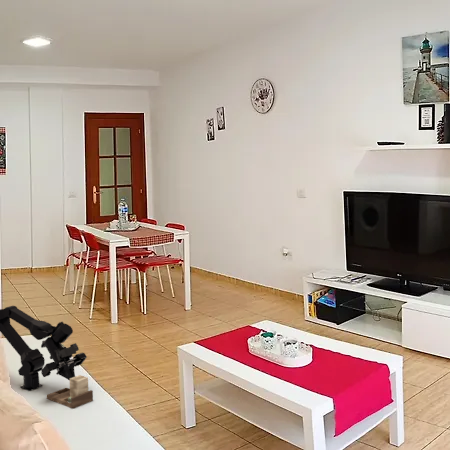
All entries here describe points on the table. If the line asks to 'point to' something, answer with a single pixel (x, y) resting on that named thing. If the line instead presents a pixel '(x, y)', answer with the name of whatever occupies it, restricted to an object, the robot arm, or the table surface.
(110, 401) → the table surface
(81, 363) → the robot arm
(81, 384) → the birch block
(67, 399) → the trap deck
